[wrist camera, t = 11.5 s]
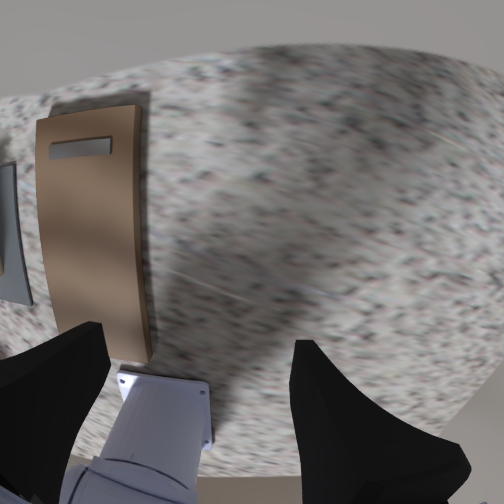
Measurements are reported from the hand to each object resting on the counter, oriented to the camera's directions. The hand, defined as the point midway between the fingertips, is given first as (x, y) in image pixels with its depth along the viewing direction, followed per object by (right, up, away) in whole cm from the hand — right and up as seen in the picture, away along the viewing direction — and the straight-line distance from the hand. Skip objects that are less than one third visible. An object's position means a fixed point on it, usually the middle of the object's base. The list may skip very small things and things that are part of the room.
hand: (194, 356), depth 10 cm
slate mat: (-22, +5, +9) cm, 24 cm away
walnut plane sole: (-9, +4, +9) cm, 14 cm away
